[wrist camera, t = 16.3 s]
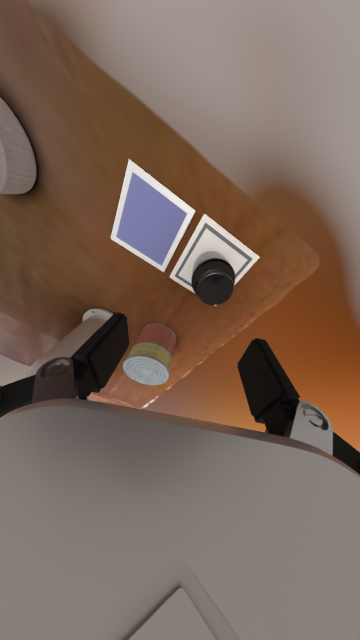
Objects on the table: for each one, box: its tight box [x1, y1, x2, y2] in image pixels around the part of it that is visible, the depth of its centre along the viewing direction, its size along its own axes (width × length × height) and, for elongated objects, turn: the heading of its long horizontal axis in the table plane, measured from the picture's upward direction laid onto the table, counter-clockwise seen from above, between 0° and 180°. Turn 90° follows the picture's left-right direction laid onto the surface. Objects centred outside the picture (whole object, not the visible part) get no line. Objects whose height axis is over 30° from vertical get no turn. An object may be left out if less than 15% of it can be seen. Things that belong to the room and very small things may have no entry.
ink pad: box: [111, 159, 195, 272], centre depth 25 cm, size 12×12×1 cm
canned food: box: [123, 323, 176, 385], centre depth 37 cm, size 11×11×12 cm
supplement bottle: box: [191, 251, 235, 305], centre depth 23 cm, size 7×7×12 cm
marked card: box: [170, 214, 260, 306], centre depth 28 cm, size 13×13×1 cm
